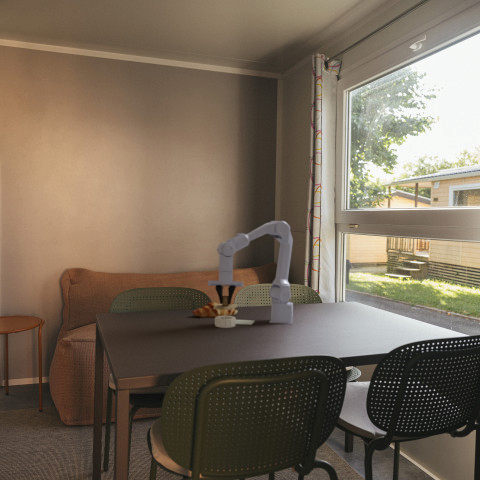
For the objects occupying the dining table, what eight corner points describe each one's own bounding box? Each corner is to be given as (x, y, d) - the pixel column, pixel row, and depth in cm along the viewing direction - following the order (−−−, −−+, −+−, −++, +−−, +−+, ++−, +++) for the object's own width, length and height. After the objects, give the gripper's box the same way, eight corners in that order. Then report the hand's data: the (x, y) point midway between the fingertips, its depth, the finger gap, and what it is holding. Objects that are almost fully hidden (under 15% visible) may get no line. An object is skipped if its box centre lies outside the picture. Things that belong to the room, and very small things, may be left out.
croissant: (235, 321, 213) (233, 305, 216) (241, 315, 205) (239, 298, 208) (191, 322, 207) (190, 306, 210) (195, 316, 198) (194, 299, 201)
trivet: (255, 321, 197) (255, 320, 197) (251, 325, 189) (251, 324, 189) (234, 320, 199) (234, 319, 199) (230, 324, 191) (230, 323, 191)
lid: (237, 306, 190) (237, 295, 190) (232, 310, 182) (232, 298, 182) (218, 305, 192) (218, 294, 192) (213, 308, 184) (213, 297, 184)
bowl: (237, 324, 190) (237, 316, 190) (232, 329, 182) (232, 320, 182) (217, 323, 192) (218, 315, 192) (212, 327, 184) (212, 319, 184)
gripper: (244, 270, 189) (244, 302, 190) (210, 269, 191) (210, 301, 192) (242, 272, 182) (241, 305, 183) (207, 271, 184) (206, 304, 185)
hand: (225, 303), depth 187 cm, fingers closed on lid, 3 cm apart
